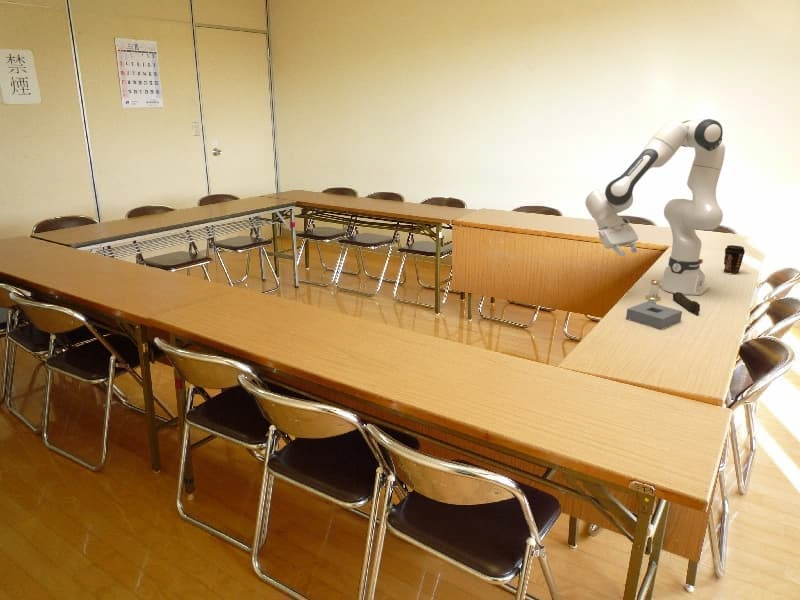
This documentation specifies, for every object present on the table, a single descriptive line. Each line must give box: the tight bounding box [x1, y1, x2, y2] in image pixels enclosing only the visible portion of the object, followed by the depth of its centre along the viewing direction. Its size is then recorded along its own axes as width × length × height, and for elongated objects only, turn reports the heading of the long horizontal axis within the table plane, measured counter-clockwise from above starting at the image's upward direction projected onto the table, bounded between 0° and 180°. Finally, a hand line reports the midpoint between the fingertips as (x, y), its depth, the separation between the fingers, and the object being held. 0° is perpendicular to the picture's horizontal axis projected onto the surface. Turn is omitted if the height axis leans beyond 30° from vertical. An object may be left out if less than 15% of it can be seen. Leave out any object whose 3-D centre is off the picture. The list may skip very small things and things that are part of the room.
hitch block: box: [625, 301, 683, 330], centre depth 219 cm, size 14×14×4 cm
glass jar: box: [645, 279, 661, 304], centre depth 232 cm, size 6×6×11 cm
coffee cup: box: [723, 244, 745, 275], centre depth 282 cm, size 9×8×13 cm
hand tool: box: [672, 292, 701, 316], centre depth 234 cm, size 19×4×5 cm, turn 177°
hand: (629, 253), depth 237 cm, fingers open, 8 cm apart
